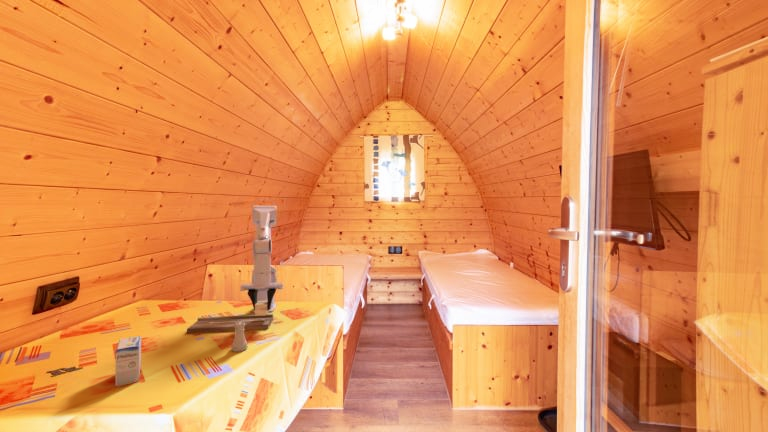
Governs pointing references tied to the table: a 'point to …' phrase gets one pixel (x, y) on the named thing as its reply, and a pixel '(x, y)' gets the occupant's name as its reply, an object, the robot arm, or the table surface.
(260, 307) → the block
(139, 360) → the medicine box
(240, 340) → the rook chess piece
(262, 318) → the walnut board
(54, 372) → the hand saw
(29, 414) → the table surface
